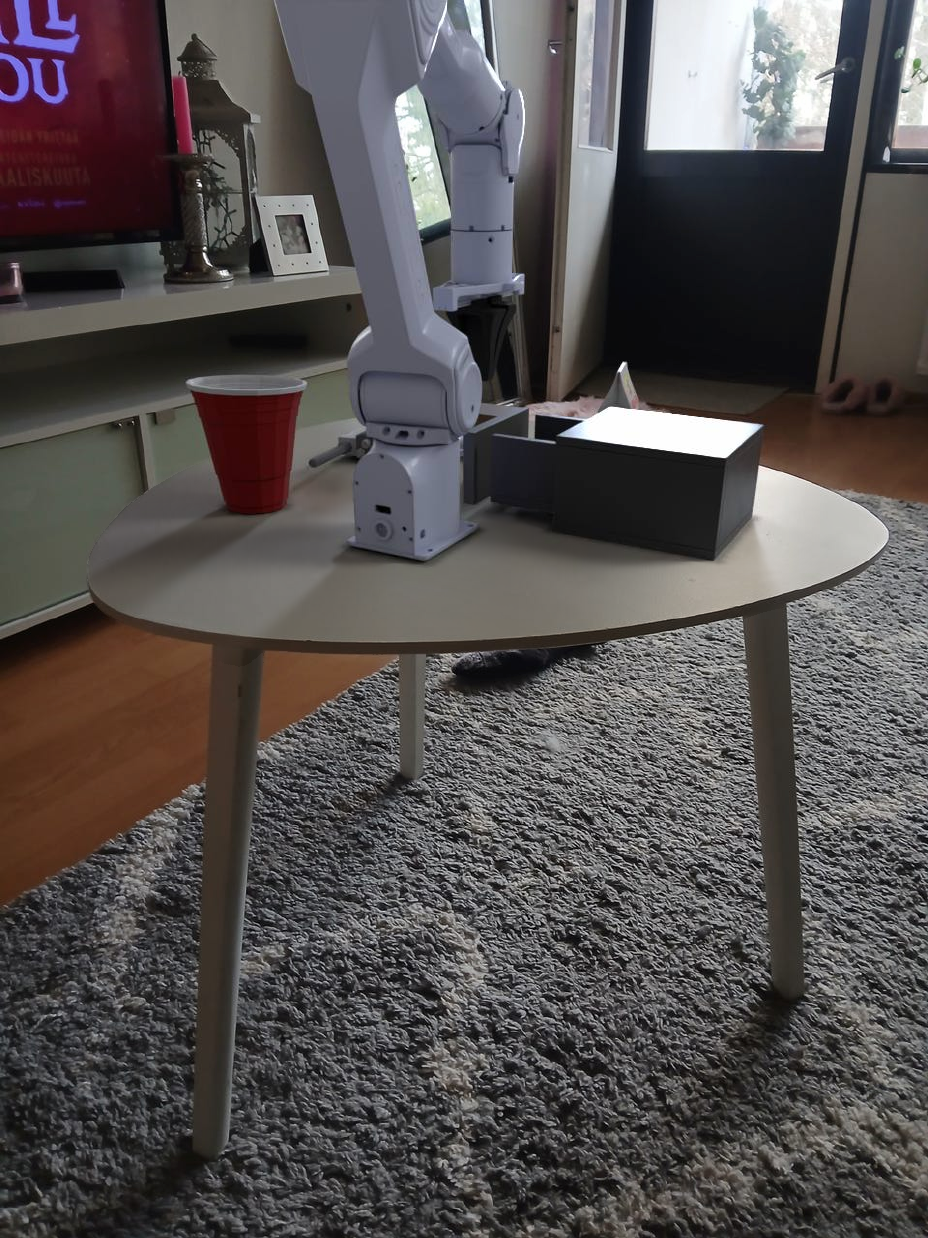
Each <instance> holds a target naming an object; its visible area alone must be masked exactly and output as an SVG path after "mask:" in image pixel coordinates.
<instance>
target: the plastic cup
mask: <svg viewBox="0 0 928 1238" xmlns="http://www.w3.org/2000/svg"><path fill="white" fill-rule="evenodd" d="M185 386H186V388H187V389H188V390H190V393H191V396H192V398H193V401H194V406H196V409H197V413H198V417H199V418H200V421H201V424H202V425H201V426H202V428H203V432H204V435H205V436H204V437H205V439H206V444H207V447H208V450H209V454H210V458H211V462H212V465H213V469H214V473H215V475H216V476H217V480H218V484H219V487H220V490H221V495H222V498H223V501H224V503H225V505H226V508H227V509H229V510H230V511H231V512H234V513H238V514H247V515H248V514H250V515H253V514H266V513H270V512H275V511H278V510H280V509H283V508H284V507H286V506H287V504H288V499H289V495H290V481H291V472H292V470H293V469H292V468H293V461H294V460H293V459H294V448H295V436H296V427H297V419H298V416H299V408H300V405H301V399H302V397H303V393H304V391H305V390H307V386H308V381H306V380H303V379H300V378H294V377H287V376H279V375H278V376H277V375H263V374H262V375H261V374H229V375H227V374H225V375H209V376H199V377H195V378H190V379H187V380H186V381H185Z"/></svg>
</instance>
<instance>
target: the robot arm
mask: <svg viewBox="0 0 928 1238" xmlns="http://www.w3.org/2000/svg"><path fill="white" fill-rule="evenodd" d="M273 2H274V5H275V8H276V9H275V10H276V13H277V17H278V20H279V24H280V28H281V33H282V36H283V39H284V44H285V47H286V50H287V51H286V52H287V55H288V58H289V61H290V64H291V68H292V72H293V77H294V80H295V83H296V84H297V85H298V86H299V87H301V88H302V89H303V90H304V91H306V92H307V93H308V94H310V95H311V97H312V103H313V107H314V111H315V114H316V115H315V116H316V119H317V123H318V127H319V130H320V134H321V135H320V136H321V138H322V143H323V146H324V150H325V154H326V159H327V163H328V166H329V169H330V173H331V178H332V181H333V186H334V189H335V195H336V197H337V201H338V205H339V209H340V213H341V216H342V217H341V218H342V221H343V225H344V229H345V232H346V237H347V240H348V245H349V248H350V252H351V257H352V261H353V264H354V268H355V272H356V277H357V279H358V284H359V288H360V291H361V296H362V300H363V304H364V306H365V311H366V316H367V319H368V320H367V321H368V324H369V325H368V326H367V327H365V328H364V329H363V330H362V331H361V332H360V333H359V334H358V335H357V337H356V338H355V340H354V341H353V342H352V345H351V347H350V349H349V351H348V355H347V358H346V362H345V363H346V367H347V371H348V378H349V379H348V381H349V389H348V391H349V395H348V396H349V400H350V401H349V402H350V407H351V410H352V412H353V414H354V416H355V418H356V420H357V421H358V424H360V425H361V426H363V427H365V428H366V436H367V437H373V438H374V440H373V445H372V447H371V449H370V451H369V452H368V453H367V454H366V455H364V456H363V457H362V458H361V459H359V460H358V461H357V463H356V465H355V467H354V470H353V473H352V495H353V497H352V498H353V515H354V517H353V519H354V535H353V536H351V537H349V538H348V539H347V540H346V544H347V545H348V546H350V547H355V548H359V549H364V550H369V551H373V552H379V553H383V554H387V555H393V556H398V557H402V558H406V559H412V560H416V561H417V560H418V561H422V562H423V561H425V562H426V561H429V560H431V559H432V558H434V557H435V556H437V555H438V554H440V553H442V552H443V551H445V550H447V549H448V548H450V547H451V546H453V545H454V544H456V543H458V542H459V541H461V540H463V539H464V538H467V536H469V535H470V534H472V533H474V532H475V531H477V530H479V528H480V524H479V523H478V522H475V521H469V520H464V519H461V456H460V436H462V435H465V434H467V433H468V432H469V430H470V429H471V428H472V427H473V426H474V425H475V423H476V421H477V418H478V415H479V411H480V407H481V403H482V398H483V382H490V381H492V380H493V379H494V376H495V373H496V369H497V366H498V365H497V364H498V360H499V357H500V352H501V348H502V344H503V341H504V339H505V335H506V333H507V331H508V328H509V326H510V324H511V322H512V320H513V318H514V316H515V315H516V313H517V304H518V303H517V302H516V301H506V300H503V298H506V297H510V296H513V295H514V296H521V295H525V273H515V272H514V273H513V241H514V240H513V232H514V191H515V190H514V187H515V175H518V173H519V169H520V155H521V147H522V142H523V137H524V131H525V130H524V129H525V108H524V99H523V95H522V92H521V89H520V88H519V87H518V86H515V87H513V84H512V83H511V81H509V80H500V78H499V77H498V75H497V73H496V71H495V70H494V68H493V67H492V65H491V63H490V61H489V60H488V58H487V56H486V55H485V52H484V51H483V49H482V47H481V46H480V44H479V42H478V41H477V40H476V39H475V37H474V36H473V35H471V34H470V33H469V32H468V29H465V28H464V29H456V28H455V26H454V25H453V24H454V23H453V22H452V20H451V17H450V15H449V12H448V10H447V6H448V5H447V4H448V3H447V2H448V0H273ZM415 86H416V87H417V90H418V91H419V93H420V94H421V96H422V97H423V98H424V99H425V101H426V102H427V103H428V105H429V106H430V108H431V109H432V110H433V111H434V113H435V121H436V125H437V127H438V130H439V135H440V140H441V144H442V148H443V150H444V152H445V153H446V152H447V154H449V159H450V161H449V163H450V164H449V165H450V167H449V169H450V172H449V173H450V175H449V176H450V178H449V179H450V180H449V181H450V279H449V280H447V281H446V282H444V283H443V284H441V285H437V286H435V287H433V288H432V294H431V287H430V283H429V276H428V272H427V267H426V262H425V257H424V252H423V251H424V250H423V246H422V242H421V236H420V230H419V226H418V220H417V215H416V211H415V204H414V200H413V193H412V191H411V184H410V179H409V175H408V169H407V168H408V167H407V163H406V159H405V153H404V148H403V143H402V138H401V133H400V128H399V123H398V118H397V117H398V116H397V113H396V104H397V99H398V97H400V96H402V95H403V94H405V93H406V92H407V91H409V90H410V89H412V88H414V87H415ZM435 311H441V312H443V311H444V312H445V316H446V317H447V319H448V320H449V322H450V323H449V322H448V321H446V320H445V319H443V318H442V317H441V316H439V315H438V314H437V313H436V312H435Z"/></svg>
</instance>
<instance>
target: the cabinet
mask: <svg viewBox="0 0 928 1238" xmlns="http://www.w3.org/2000/svg"><path fill="white" fill-rule="evenodd" d="M586 419H587V420H585V421H583V422H581V423H579V424H578V425H576V426H574V427H572V428H570V429H568V430H566V431H564V432H562V433H561V434H559V435H557V436H556V450H555V474H554V498H553V513H552V523H551V531H552V532H556V533H560V534H567V535H572V536H577V537H582V538H589V539H594V540H599V541H605V542H611V543H616V544H621V545H627V546H632V547H633V546H634V547H638V548H643V549H650V550H654V551H661V552H665V553H671V554H677V555H682V556H688V557H694V558H700V559H705V560H711V561H715V560H717V558H718V557H719V555H721V554H722V552H723V551H724V550H725V549H726V548H727V546H728V545H729V544H731V542H732V540H733V539H734V538H735V537H736V536H737V535H738V534H739V533H740V531H741V530H742V529H743V528H744V527H745V526H746V525H747V523H748V522H749V521H750V520H751V519H752V517H753V512H754V505H755V497H756V491H757V482H758V477H759V468H760V461H761V453H762V445H763V437H764V432H765V431H764V430H765V425H764V424H759V423H751V422H743V421H733V420H726V419H725V420H724V419H716V418H707V417H698V416H691V415H683V414H675V413H674V414H672V413H665V412H664V413H663V412H656V411H647V410H639V409H638V410H631V409H622V408H613V407H609V408H608V409H606V410H604V411H602V412H600V413H598V412H597V413H596V414H594V415H592V416H591V417H589V418H586Z"/></svg>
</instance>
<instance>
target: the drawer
mask: <svg viewBox="0 0 928 1238" xmlns="http://www.w3.org/2000/svg"><path fill="white" fill-rule="evenodd" d="M517 407H518V408H515V409H513V410H511V411H509V412H506V413H504V414H502V415H500V416H497V417H495V418H493V419H491V420H488V421H486V422H484V423H481V424H479V425H477V426H475V427H472V428H471V429H470V430H469V432H468V433H467V434H465V435H463V436H460V457H461V458H462V478H463V479H462V490H463V491H462V503H463V504H465V505H472V506H475V505H477V504H479V503H480V502H482V501H485V500H486V499H488V498H489V497H490V503H493V504H499V505H505V506H512V507H516V508H521V509H522V508H523V509H528V510H534V511H539V512H546V513H551V514H553V498H554V474H555V450H556V436H557V435H559V434H561V433H562V432H564V431H566V430H568V429H570V428H572V427H574V426H576V425H578V424H579V423H581V422H583V421H585V420H587V419H588V418H579V417H572V416H565V415H564V416H563V415H555V414H549V413H548V414H547V413H536V414H535V415H534V436H533V437H534V438H531V437H529V428H530V427H529V426H530V425H529V424H530V408H529V407H522V406H517Z"/></svg>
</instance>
